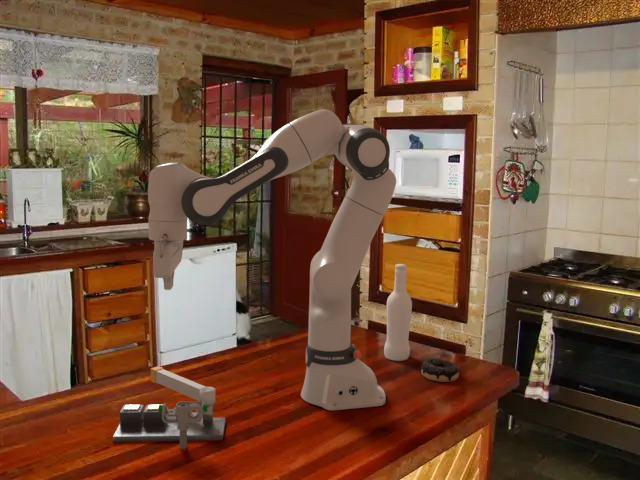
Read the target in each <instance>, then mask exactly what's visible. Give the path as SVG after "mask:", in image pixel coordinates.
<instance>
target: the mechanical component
mask: <svg viewBox="0 0 640 480" xmlns="http://www.w3.org/2000/svg"><path fill="white" fill-rule="evenodd" d="M162 404H163V405H159V409H158V411H159V412H162V420H163V422H165V423H178V426H177V429H179V430H180V441H179V449H180V450H185V449H186V448H187V446H188V441H187V429H188V428H189V423H199V422H200V421H201V420H202V417H203V411H204V412H207V407H208V406H207V404H205V405H204V401H198V400H195V401H187V400H186V401H178V402H177V403H176V405H175V407H174V408H169V407H168V404H167V403H162ZM192 410H195V411H194V412H193V411H192Z"/></svg>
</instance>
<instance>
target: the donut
mask: <svg viewBox="0 0 640 480" xmlns="http://www.w3.org/2000/svg"><path fill="white" fill-rule="evenodd" d="M420 369H421V375H422V376H423V377H424V378H426V379H427V380H429V381H432V382H438V383H449V382H454V381H456V380H457V379H459V377H460V373H461V372H460V369H459V367H458V365H457V364H455V363H454V362H451V361H449V360H446V359H445V360H444V359H441V358H430V359H429V358H428V359H427V360H424V361H423V363H422V364H421V366H420Z"/></svg>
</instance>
